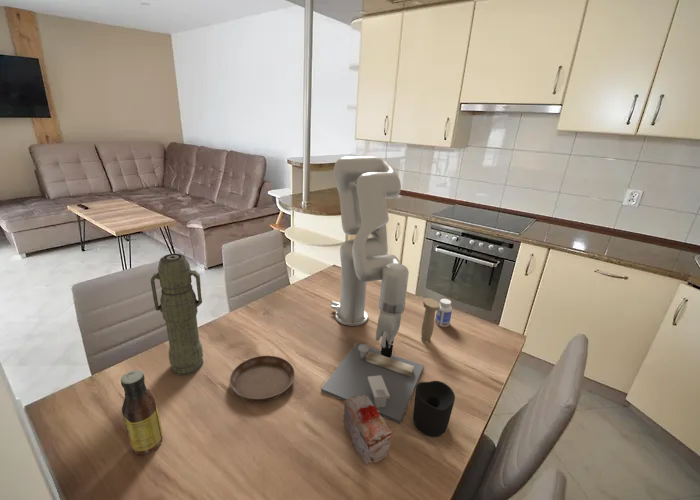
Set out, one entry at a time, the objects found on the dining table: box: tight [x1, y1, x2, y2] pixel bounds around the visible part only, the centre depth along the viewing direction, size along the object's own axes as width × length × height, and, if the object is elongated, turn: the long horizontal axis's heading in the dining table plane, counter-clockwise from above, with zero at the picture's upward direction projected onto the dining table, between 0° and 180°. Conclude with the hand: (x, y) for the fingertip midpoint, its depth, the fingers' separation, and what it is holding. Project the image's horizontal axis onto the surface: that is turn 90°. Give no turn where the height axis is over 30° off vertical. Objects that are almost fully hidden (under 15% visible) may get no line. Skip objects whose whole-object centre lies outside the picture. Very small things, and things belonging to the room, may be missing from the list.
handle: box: [420, 297, 440, 343], centre depth 119 cm, size 5×6×15 cm
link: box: [366, 351, 414, 377], centre depth 105 cm, size 15×3×2 cm, turn 65°
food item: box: [342, 395, 393, 465], centre depth 80 cm, size 14×8×10 cm, turn 27°
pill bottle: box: [434, 298, 453, 328], centre depth 130 cm, size 5×5×10 cm
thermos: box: [150, 253, 204, 376], centre depth 96 cm, size 9×12×35 cm
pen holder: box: [412, 380, 456, 438], centre depth 86 cm, size 9×9×10 cm
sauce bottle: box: [120, 369, 164, 456], centre depth 74 cm, size 7×6×20 cm
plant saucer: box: [229, 355, 296, 403], centre depth 97 cm, size 18×18×3 cm
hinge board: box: [320, 342, 425, 425], centre depth 101 cm, size 23×24×5 cm
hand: (386, 355), depth 109 cm, fingers closed
